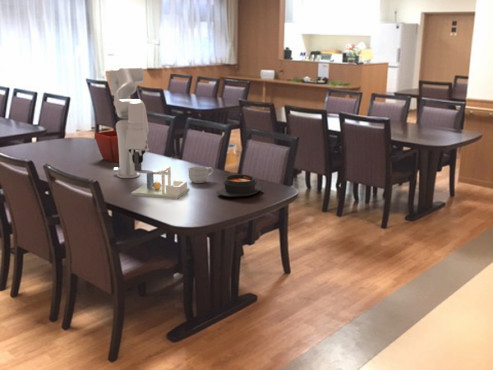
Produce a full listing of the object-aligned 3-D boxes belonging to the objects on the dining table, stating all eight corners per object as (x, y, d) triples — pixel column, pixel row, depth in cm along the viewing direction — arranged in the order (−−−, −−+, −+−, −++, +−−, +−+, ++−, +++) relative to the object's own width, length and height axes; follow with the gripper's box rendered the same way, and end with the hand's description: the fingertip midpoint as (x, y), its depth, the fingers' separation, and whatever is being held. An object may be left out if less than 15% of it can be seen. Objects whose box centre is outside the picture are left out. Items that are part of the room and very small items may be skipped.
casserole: (246, 186, 302) (247, 170, 300) (270, 194, 288) (270, 178, 286) (208, 194, 287) (208, 177, 284) (231, 202, 273) (231, 186, 271)
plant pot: (95, 159, 357) (93, 132, 353) (121, 154, 370) (120, 129, 366) (111, 164, 344) (110, 137, 340) (138, 159, 357) (137, 133, 353)
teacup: (190, 185, 302) (190, 170, 300) (186, 180, 312) (186, 165, 310) (215, 183, 305) (215, 169, 303) (211, 178, 315) (211, 164, 313)
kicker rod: (134, 187, 288) (133, 152, 284) (138, 185, 293) (137, 150, 288) (168, 190, 284) (167, 155, 279) (172, 188, 289) (171, 153, 284)
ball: (152, 190, 287) (151, 182, 286) (155, 188, 291) (155, 180, 290) (159, 190, 286) (159, 183, 285) (162, 188, 290) (162, 181, 289)
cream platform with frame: (131, 194, 283) (130, 170, 279) (146, 185, 299) (145, 162, 296) (176, 199, 277) (176, 174, 274) (189, 189, 294) (189, 165, 290)
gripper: (118, 126, 281) (119, 163, 286) (148, 128, 277) (149, 165, 282) (125, 124, 288) (126, 159, 293) (154, 126, 284) (155, 162, 289)
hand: (137, 162), depth 287 cm, fingers closed on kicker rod, 2 cm apart
